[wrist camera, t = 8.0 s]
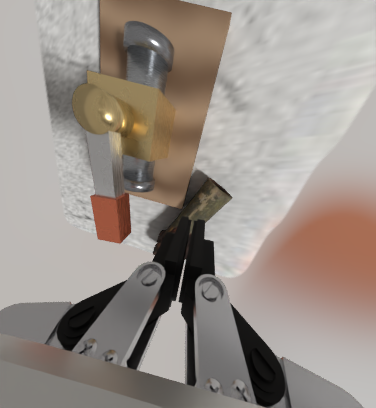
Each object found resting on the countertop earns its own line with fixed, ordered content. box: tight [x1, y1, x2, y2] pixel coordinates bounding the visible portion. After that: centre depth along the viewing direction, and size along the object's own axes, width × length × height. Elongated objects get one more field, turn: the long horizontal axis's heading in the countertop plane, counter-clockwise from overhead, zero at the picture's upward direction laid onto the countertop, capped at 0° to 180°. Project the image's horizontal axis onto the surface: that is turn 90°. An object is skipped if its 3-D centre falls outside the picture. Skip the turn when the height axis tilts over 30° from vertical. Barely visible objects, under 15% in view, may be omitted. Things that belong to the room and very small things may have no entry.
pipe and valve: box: [87, 21, 176, 193], centre depth 17 cm, size 16×7×7 cm, turn 166°
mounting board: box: [100, 0, 232, 209], centre depth 20 cm, size 24×15×2 cm, turn 166°
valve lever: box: [72, 83, 134, 243], centre depth 14 cm, size 14×3×3 cm, turn 173°
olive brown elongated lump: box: [153, 178, 232, 259], centre depth 24 cm, size 18×7×6 cm, turn 142°
